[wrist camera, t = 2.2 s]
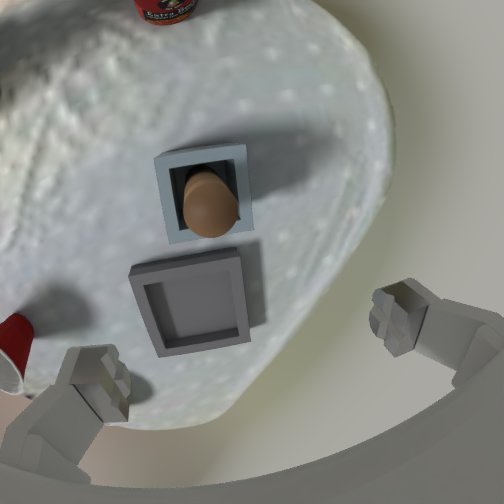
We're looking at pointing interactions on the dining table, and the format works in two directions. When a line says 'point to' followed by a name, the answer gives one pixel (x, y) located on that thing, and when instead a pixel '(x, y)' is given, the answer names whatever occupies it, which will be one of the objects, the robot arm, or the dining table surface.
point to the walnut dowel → (208, 203)
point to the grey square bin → (227, 168)
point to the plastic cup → (14, 352)
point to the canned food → (165, 10)
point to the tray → (192, 302)
